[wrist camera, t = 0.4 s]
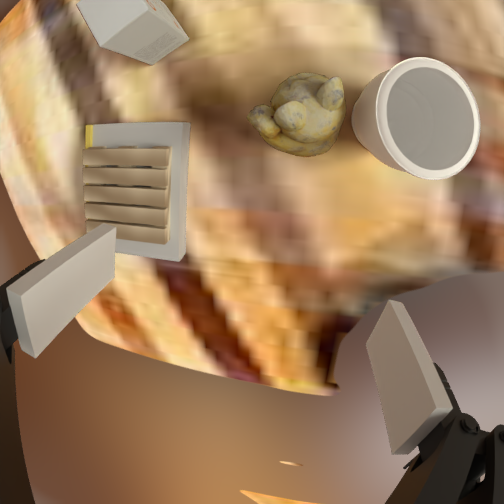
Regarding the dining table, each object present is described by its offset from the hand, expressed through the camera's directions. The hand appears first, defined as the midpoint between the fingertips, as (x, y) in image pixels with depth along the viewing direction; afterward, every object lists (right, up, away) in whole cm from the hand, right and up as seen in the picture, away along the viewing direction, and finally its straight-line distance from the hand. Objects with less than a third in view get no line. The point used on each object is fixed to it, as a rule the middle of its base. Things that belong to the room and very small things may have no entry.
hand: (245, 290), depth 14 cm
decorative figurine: (+6, +17, +21) cm, 28 cm away
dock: (-15, +11, +27) cm, 32 cm away
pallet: (-16, +10, +24) cm, 30 cm away
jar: (+17, +18, +20) cm, 32 cm away
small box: (-12, +31, +18) cm, 38 cm away
